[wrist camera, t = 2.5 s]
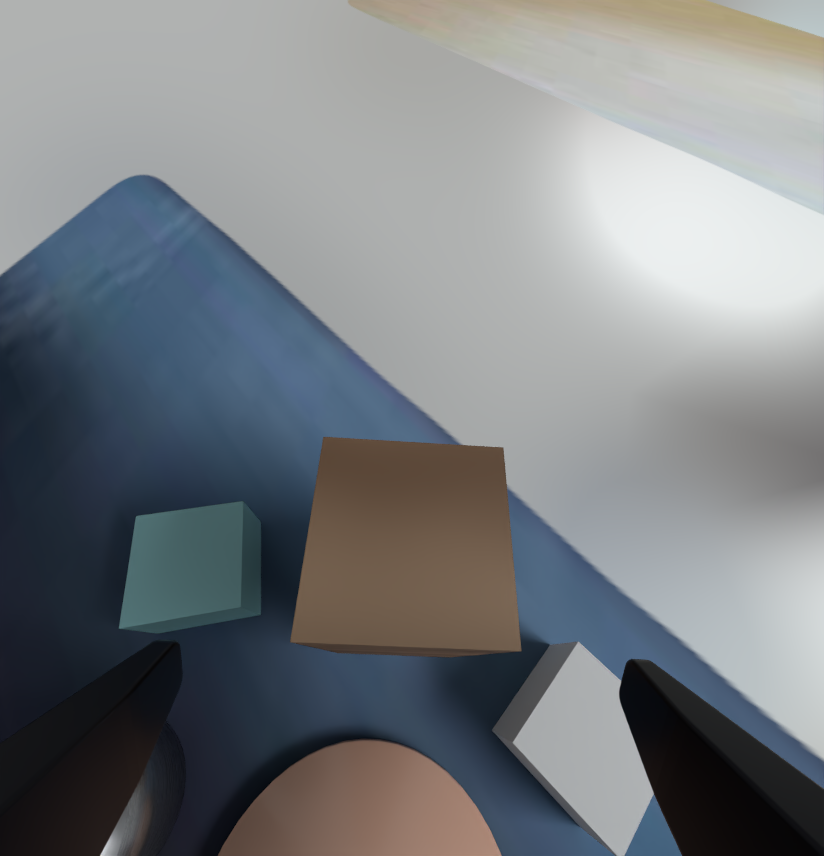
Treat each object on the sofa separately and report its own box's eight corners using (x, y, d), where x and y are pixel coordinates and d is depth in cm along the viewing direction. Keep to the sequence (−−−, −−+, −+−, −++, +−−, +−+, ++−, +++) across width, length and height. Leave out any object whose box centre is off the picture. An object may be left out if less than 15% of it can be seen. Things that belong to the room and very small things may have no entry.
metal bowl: (150, 913, 13) (66, 1004, 9) (-13, 897, 13) (-159, 984, 9) (206, 717, 15) (157, 732, 12) (72, 703, 15) (-18, 713, 12)
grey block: (632, 724, 16) (680, 736, 13) (578, 825, 14) (621, 860, 12) (548, 644, 17) (578, 641, 15) (490, 729, 16) (512, 742, 13)
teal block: (261, 615, 17) (240, 606, 15) (159, 633, 17) (118, 628, 14) (261, 523, 19) (243, 501, 16) (170, 536, 18) (136, 516, 16)
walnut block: (448, 657, 17) (521, 650, 8) (338, 653, 16) (290, 642, 8) (447, 546, 19) (502, 447, 10) (350, 541, 19) (323, 436, 10)
